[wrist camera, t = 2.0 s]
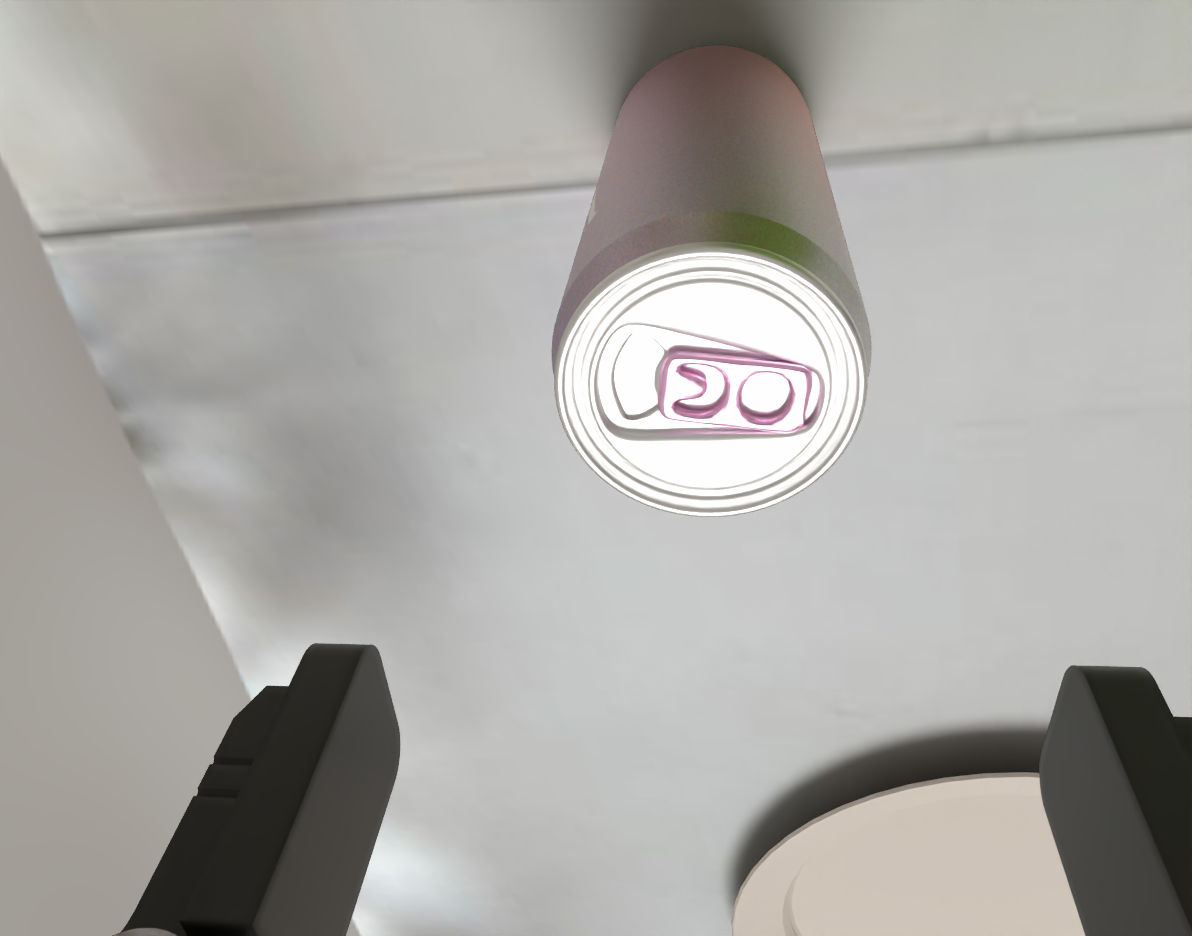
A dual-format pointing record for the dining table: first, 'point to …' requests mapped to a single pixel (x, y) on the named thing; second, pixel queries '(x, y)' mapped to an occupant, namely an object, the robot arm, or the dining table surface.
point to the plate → (917, 867)
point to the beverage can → (712, 297)
